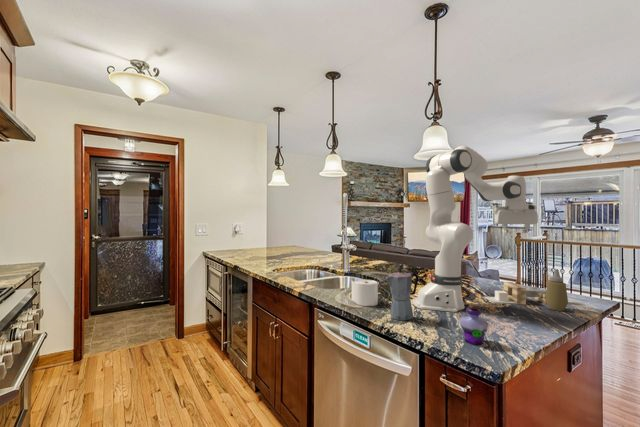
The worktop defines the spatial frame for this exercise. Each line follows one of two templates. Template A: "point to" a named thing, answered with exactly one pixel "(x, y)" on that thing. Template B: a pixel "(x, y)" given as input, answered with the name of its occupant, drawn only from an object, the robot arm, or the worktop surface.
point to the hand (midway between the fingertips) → (515, 232)
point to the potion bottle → (474, 326)
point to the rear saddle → (541, 299)
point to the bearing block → (515, 292)
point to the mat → (499, 301)
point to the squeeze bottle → (556, 293)
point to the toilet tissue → (365, 292)
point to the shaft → (535, 292)
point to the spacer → (501, 295)
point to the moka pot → (401, 294)
